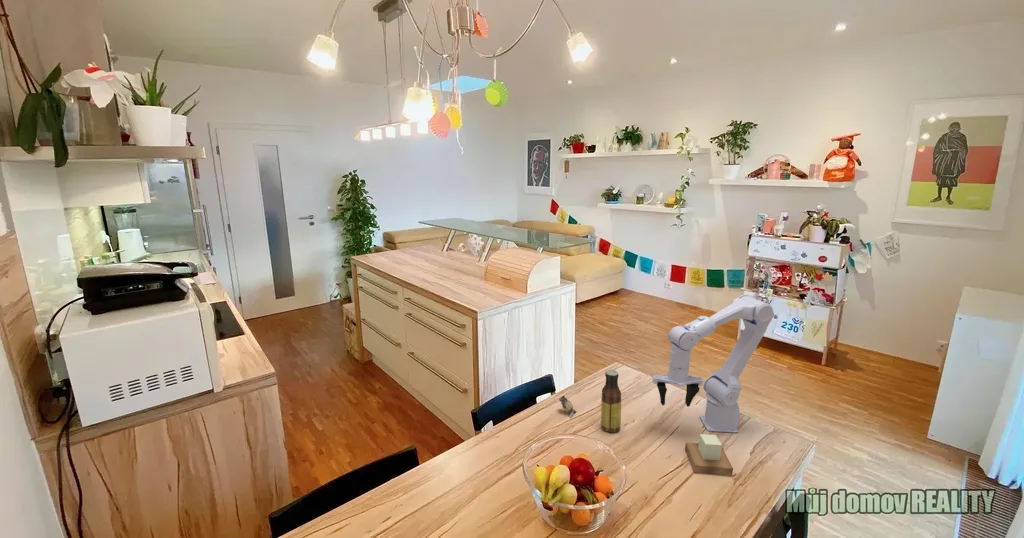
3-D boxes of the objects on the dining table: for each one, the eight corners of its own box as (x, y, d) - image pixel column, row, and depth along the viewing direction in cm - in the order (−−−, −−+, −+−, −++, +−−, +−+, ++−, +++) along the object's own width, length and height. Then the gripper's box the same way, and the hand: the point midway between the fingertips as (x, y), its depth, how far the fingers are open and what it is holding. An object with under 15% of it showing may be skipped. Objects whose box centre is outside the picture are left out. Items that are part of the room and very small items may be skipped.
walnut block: (719, 454, 128) (720, 445, 127) (731, 477, 118) (733, 468, 118) (684, 450, 129) (685, 442, 129) (693, 474, 120) (695, 465, 119)
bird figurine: (555, 414, 147) (556, 398, 146) (562, 408, 152) (563, 392, 150) (570, 419, 144) (571, 402, 143) (576, 412, 149) (577, 396, 148)
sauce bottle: (621, 424, 142) (625, 369, 137) (619, 435, 136) (623, 378, 131) (601, 420, 144) (604, 366, 139) (598, 431, 138) (601, 375, 133)
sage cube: (713, 449, 125) (715, 435, 124) (719, 460, 121) (722, 445, 120) (697, 449, 126) (699, 434, 124) (703, 459, 121) (705, 444, 120)
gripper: (658, 370, 129) (654, 410, 132) (708, 372, 127) (703, 412, 131) (652, 359, 135) (649, 398, 139) (700, 361, 134) (695, 400, 138)
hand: (674, 404), depth 135 cm, fingers open, 7 cm apart
